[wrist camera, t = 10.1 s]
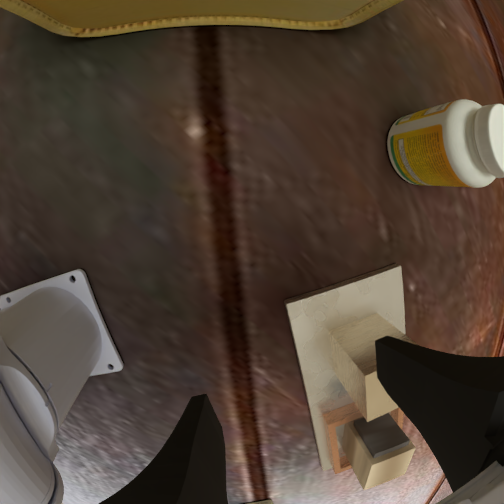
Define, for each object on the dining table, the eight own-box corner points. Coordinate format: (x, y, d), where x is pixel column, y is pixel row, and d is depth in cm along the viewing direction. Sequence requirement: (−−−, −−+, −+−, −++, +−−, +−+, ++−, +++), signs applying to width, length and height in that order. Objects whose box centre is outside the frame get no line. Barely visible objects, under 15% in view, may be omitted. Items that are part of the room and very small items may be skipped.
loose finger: (341, 446, 23) (363, 490, 17) (345, 414, 22) (373, 460, 17) (378, 435, 24) (404, 474, 18) (385, 402, 23) (417, 442, 17)
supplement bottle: (396, 103, 19) (486, 69, 9) (443, 141, 20) (534, 130, 10) (375, 163, 19) (473, 152, 10) (425, 198, 20) (522, 208, 11)
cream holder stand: (321, 466, 25) (340, 513, 18) (283, 300, 20) (314, 347, 14) (397, 434, 25) (426, 473, 19) (395, 263, 21) (454, 289, 14)
